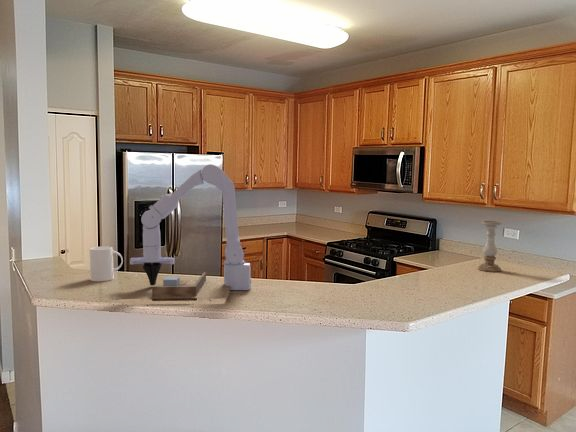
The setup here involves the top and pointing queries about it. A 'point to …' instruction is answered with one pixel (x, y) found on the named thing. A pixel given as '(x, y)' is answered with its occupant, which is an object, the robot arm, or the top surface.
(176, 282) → the block
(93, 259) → the mug
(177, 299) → the board
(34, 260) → the top surface
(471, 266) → the top surface
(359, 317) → the top surface
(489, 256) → the candle holder
